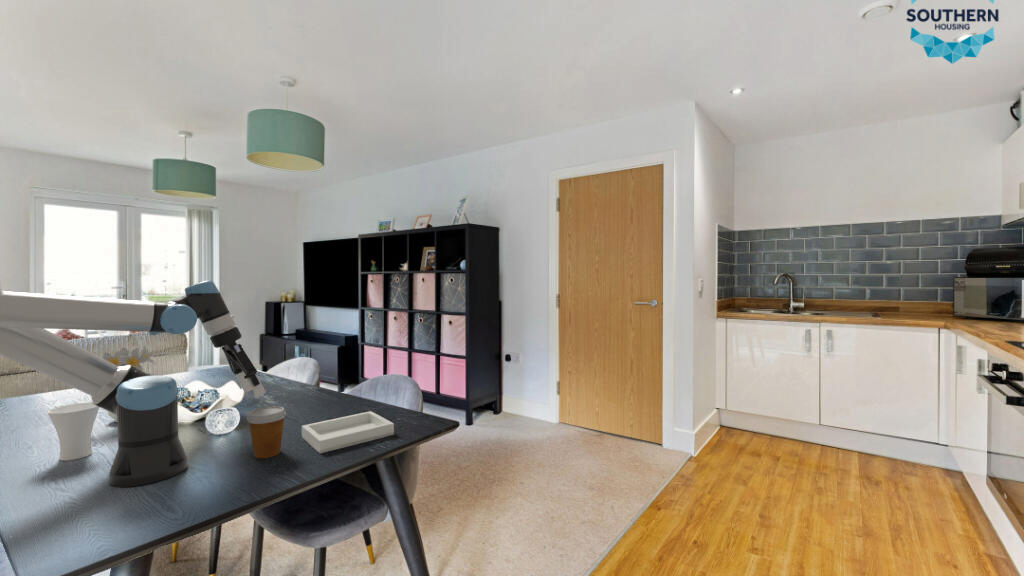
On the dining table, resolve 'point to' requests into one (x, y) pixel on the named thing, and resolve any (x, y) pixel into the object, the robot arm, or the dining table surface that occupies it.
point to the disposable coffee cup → (266, 430)
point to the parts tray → (346, 431)
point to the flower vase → (128, 362)
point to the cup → (74, 429)
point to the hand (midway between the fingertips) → (255, 392)
